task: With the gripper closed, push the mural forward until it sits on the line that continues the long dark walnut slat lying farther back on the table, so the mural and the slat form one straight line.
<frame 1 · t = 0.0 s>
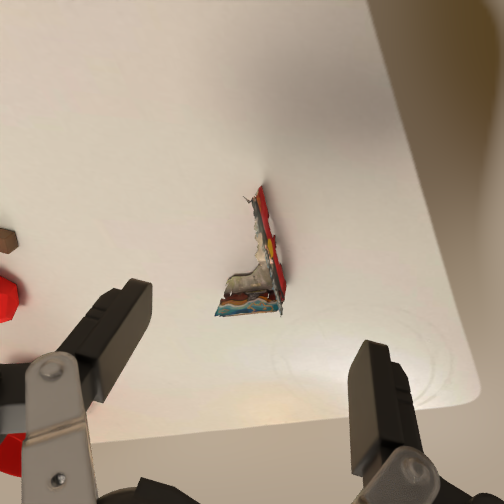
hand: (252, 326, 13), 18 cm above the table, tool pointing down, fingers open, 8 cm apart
ceramic cup: (58, 382, 54), on the table
apple: (0, 284, 44), on the table
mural: (242, 238, 34), on the table
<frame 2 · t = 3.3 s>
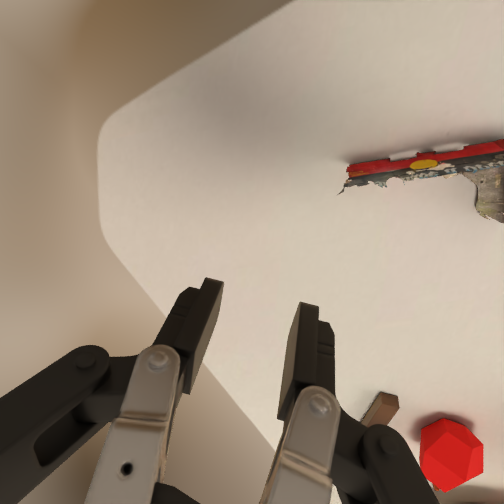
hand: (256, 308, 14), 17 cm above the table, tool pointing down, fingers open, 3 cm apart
walnut slat: (373, 417, 44), on the table
apple: (441, 429, 43), on the table
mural: (419, 190, 28), on the table
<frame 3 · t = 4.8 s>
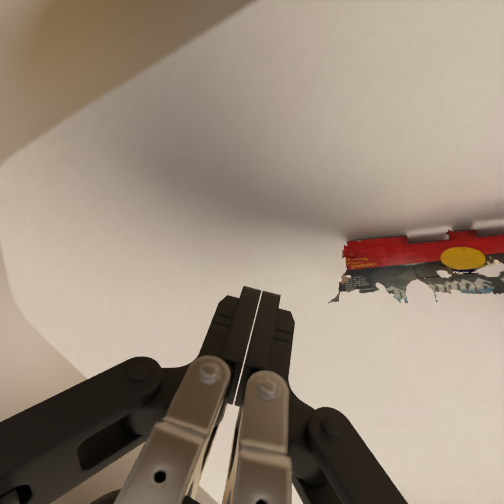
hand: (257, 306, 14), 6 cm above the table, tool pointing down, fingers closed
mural: (447, 276, 19), on the table
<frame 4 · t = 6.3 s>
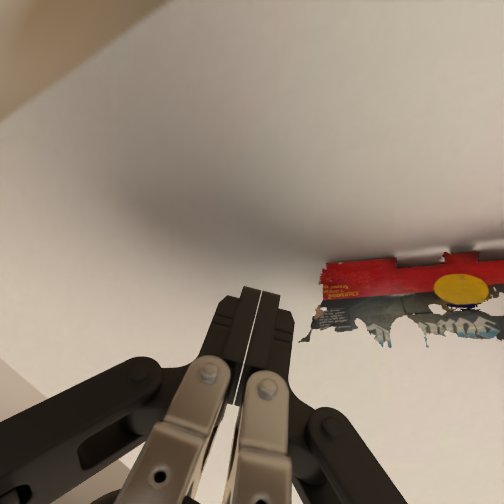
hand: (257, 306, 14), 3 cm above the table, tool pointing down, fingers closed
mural: (445, 303, 16), on the table, touching gripper
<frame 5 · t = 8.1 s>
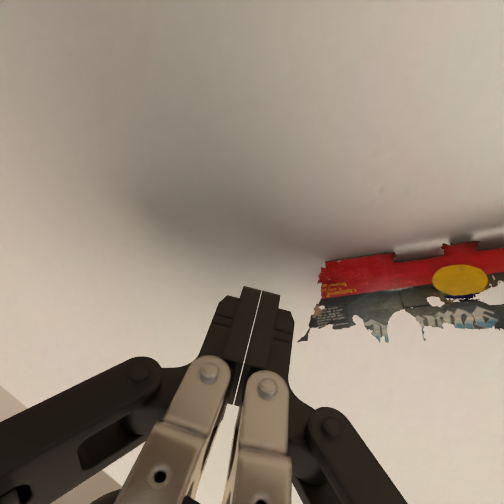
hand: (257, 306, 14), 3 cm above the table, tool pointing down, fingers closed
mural: (450, 296, 16), on the table, touching gripper
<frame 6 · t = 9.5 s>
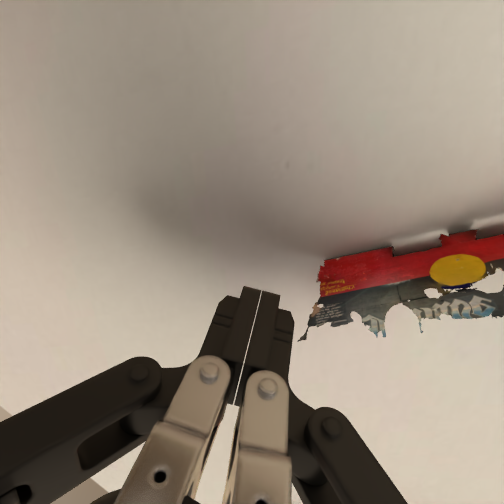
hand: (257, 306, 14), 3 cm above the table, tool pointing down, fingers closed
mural: (454, 287, 16), on the table, touching gripper
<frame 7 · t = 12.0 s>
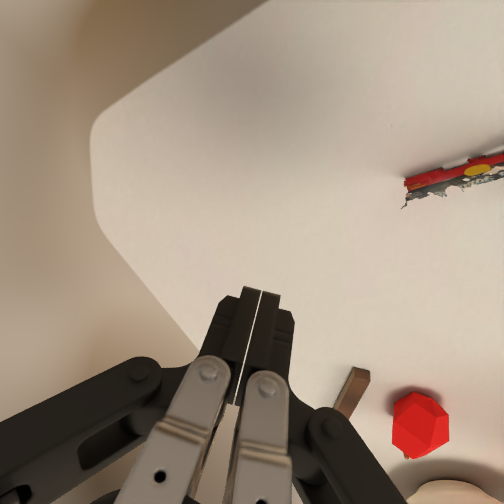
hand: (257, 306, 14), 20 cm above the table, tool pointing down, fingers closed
bowl: (449, 491, 56), on the table
walnut slat: (349, 392, 47), on the table
apple: (413, 403, 46), on the table
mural: (474, 191, 30), on the table
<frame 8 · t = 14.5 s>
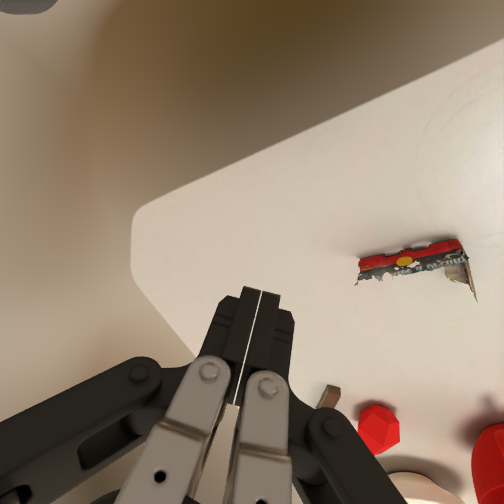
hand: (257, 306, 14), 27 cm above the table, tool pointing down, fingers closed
bowl: (407, 481, 69), on the table
ceramic cup: (500, 426, 56), on the table
walnut slat: (325, 404, 60), on the table
apple: (374, 412, 59), on the table
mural: (407, 268, 43), on the table
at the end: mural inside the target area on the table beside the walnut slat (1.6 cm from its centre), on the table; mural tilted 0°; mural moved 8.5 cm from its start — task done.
